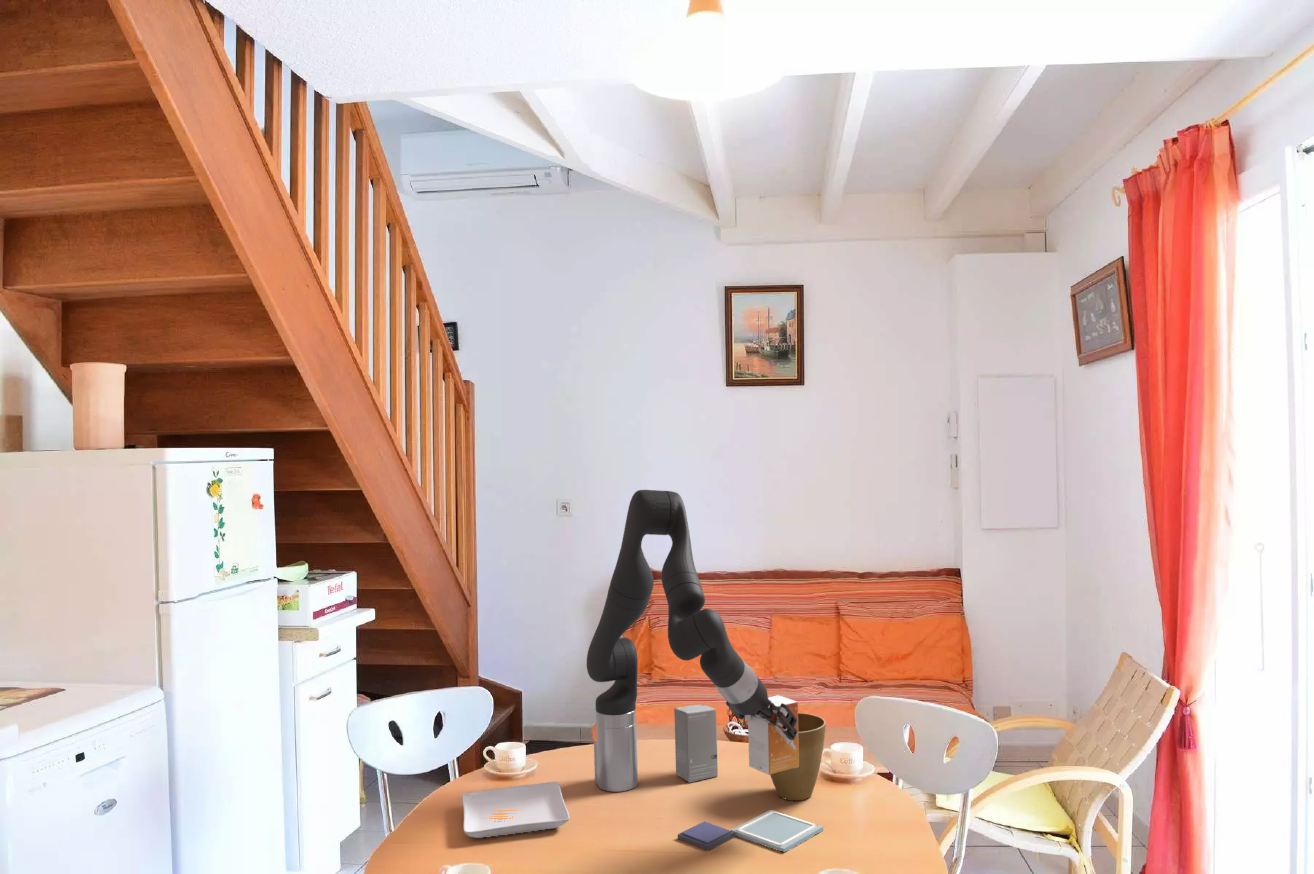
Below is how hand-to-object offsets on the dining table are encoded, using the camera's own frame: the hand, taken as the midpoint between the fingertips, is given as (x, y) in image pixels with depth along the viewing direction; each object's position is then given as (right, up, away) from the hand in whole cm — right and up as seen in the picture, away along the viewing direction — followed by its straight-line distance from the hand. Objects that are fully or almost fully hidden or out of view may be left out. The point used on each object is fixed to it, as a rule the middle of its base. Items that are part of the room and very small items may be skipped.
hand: (778, 732), depth 180 cm
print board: (0, -19, -1) cm, 20 cm away
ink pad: (-15, -20, -3) cm, 25 cm away
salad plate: (-54, -22, +9) cm, 59 cm away
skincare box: (-15, -21, +31) cm, 40 cm away
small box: (-1, -7, -1) cm, 7 cm away
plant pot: (+6, -20, +18) cm, 27 cm away
